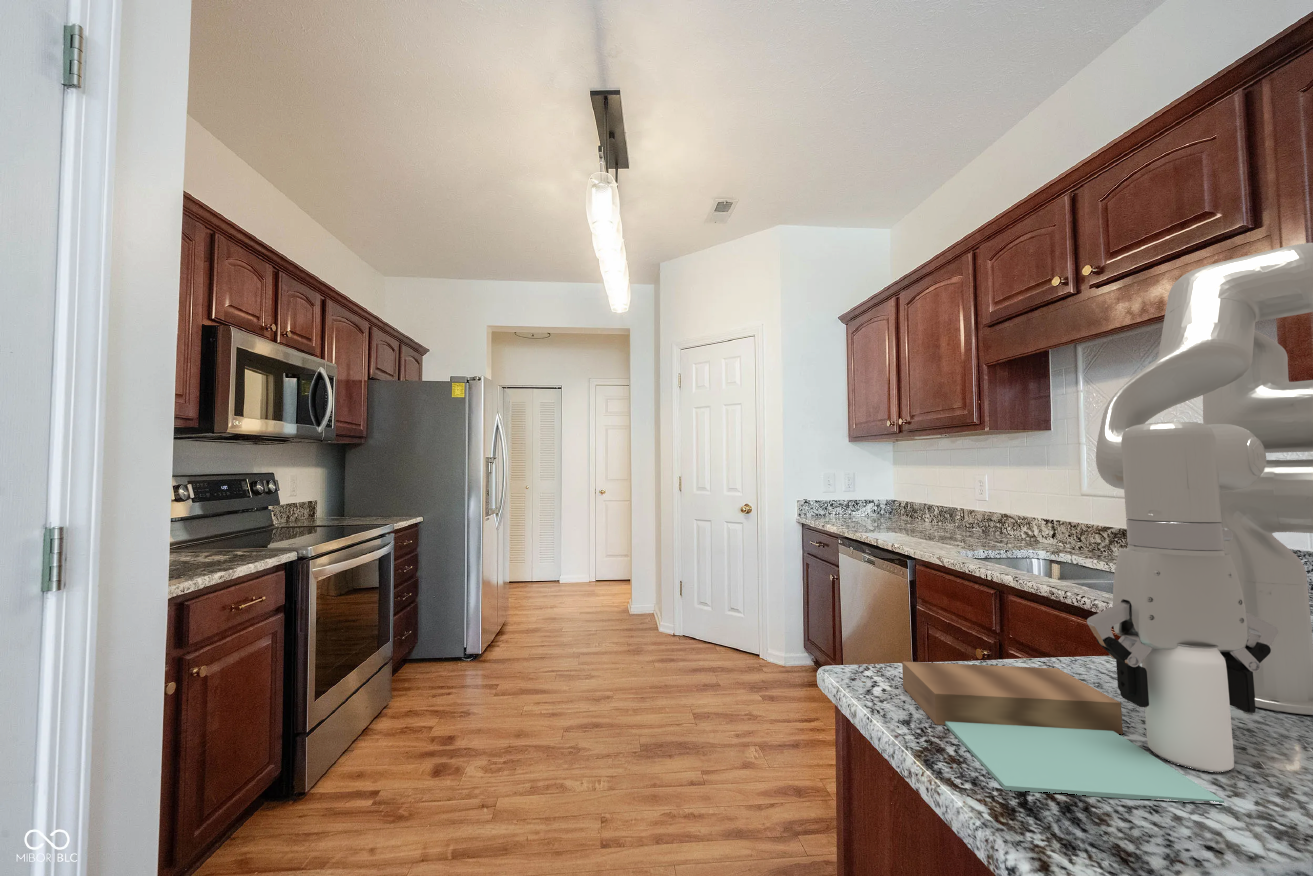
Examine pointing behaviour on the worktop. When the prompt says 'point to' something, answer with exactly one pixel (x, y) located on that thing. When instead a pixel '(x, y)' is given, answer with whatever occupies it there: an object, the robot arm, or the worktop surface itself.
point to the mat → (1074, 763)
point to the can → (1189, 707)
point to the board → (1009, 696)
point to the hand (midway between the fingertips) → (1185, 704)
